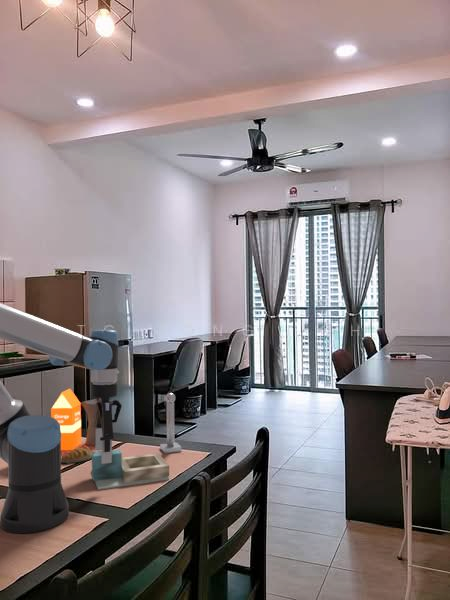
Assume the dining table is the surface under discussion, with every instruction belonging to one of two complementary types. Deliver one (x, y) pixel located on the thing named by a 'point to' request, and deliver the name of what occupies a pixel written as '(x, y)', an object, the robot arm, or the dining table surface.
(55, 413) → the orange juice
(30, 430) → the robot arm
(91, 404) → the coffeepot
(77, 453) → the pastry
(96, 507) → the dining table surface
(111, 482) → the mat
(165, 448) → the stand
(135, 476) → the sponge holder
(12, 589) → the dining table surface
